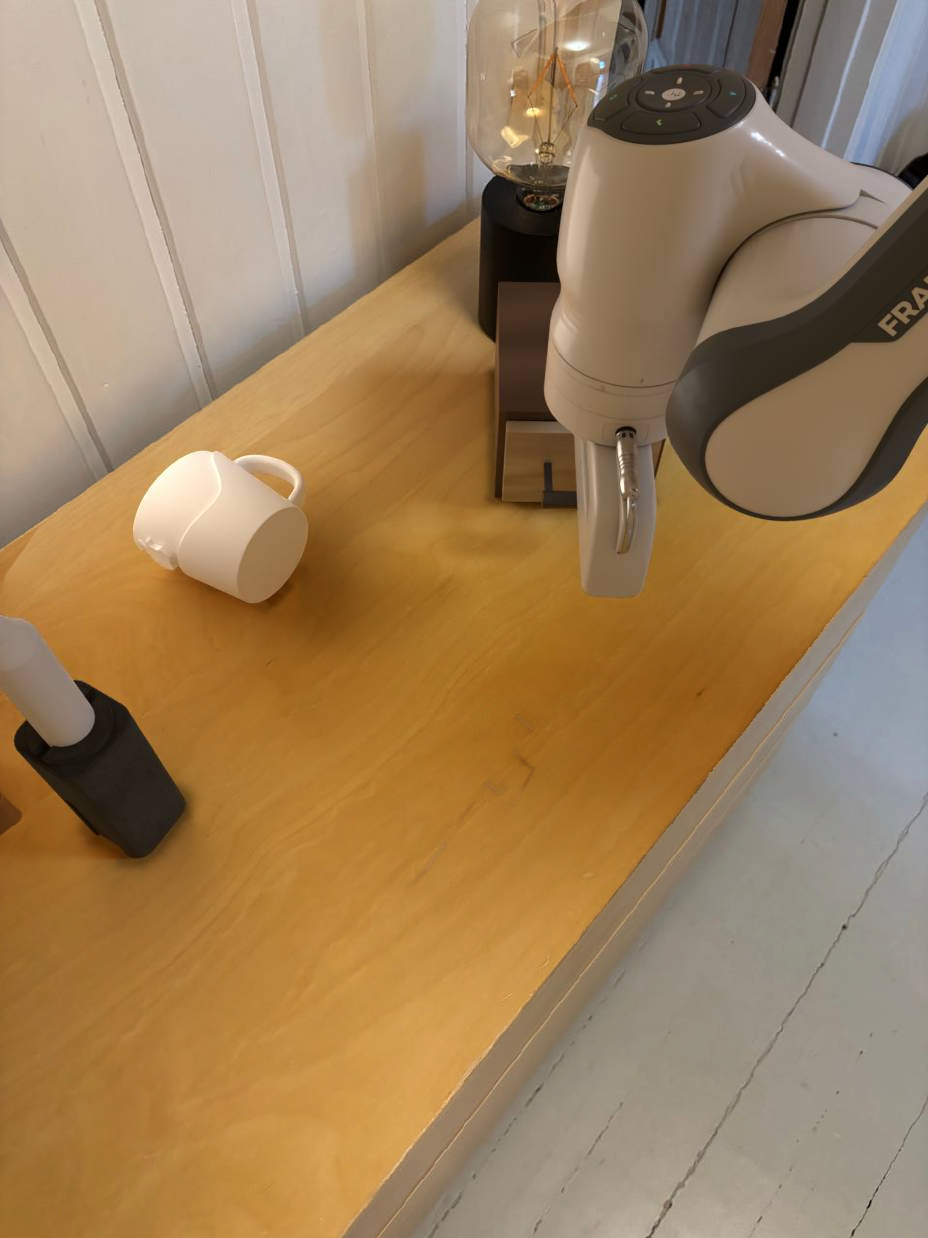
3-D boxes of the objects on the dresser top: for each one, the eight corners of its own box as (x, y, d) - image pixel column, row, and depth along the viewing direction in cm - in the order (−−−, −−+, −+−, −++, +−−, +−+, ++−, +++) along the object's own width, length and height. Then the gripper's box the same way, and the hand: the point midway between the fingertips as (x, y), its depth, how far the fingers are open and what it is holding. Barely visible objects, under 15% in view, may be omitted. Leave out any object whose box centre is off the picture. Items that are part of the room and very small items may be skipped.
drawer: (650, 545, 73) (669, 477, 67) (502, 542, 73) (506, 474, 67) (632, 385, 83) (647, 312, 76) (501, 383, 83) (505, 310, 76)
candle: (193, 800, 63) (59, 586, 42) (141, 865, 60) (-28, 672, 39) (134, 764, 64) (-24, 539, 43) (82, 826, 62) (-112, 619, 41)
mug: (241, 630, 70) (219, 567, 63) (149, 574, 73) (118, 508, 66) (339, 525, 75) (328, 457, 69) (250, 476, 78) (231, 406, 71)
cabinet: (649, 500, 77) (672, 413, 69) (494, 497, 77) (498, 410, 69) (635, 374, 85) (654, 283, 77) (494, 372, 85) (498, 281, 77)
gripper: (695, 513, 48) (650, 651, 60) (662, 262, 59) (629, 420, 71) (573, 510, 48) (552, 648, 60) (562, 260, 59) (546, 418, 71)
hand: (593, 523), depth 66 cm, fingers closed
